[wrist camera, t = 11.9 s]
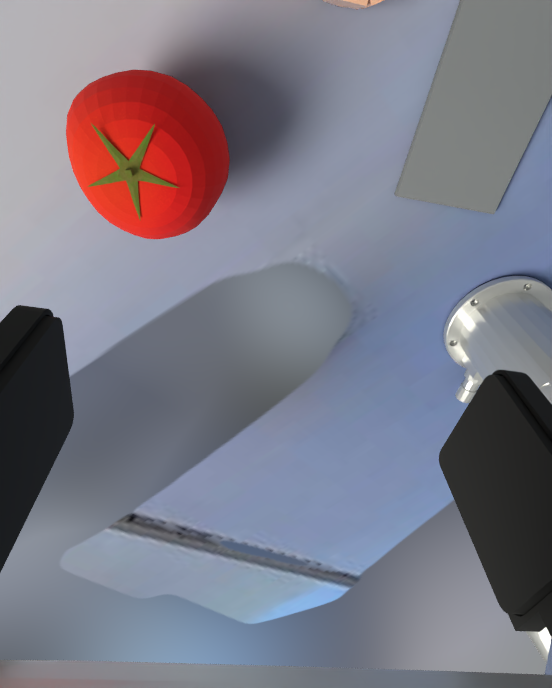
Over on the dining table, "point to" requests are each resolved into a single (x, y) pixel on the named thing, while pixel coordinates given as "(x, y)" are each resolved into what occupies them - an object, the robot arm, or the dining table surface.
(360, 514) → the dining table surface
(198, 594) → the dining table surface
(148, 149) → the tomato
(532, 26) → the mat
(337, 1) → the bowl
